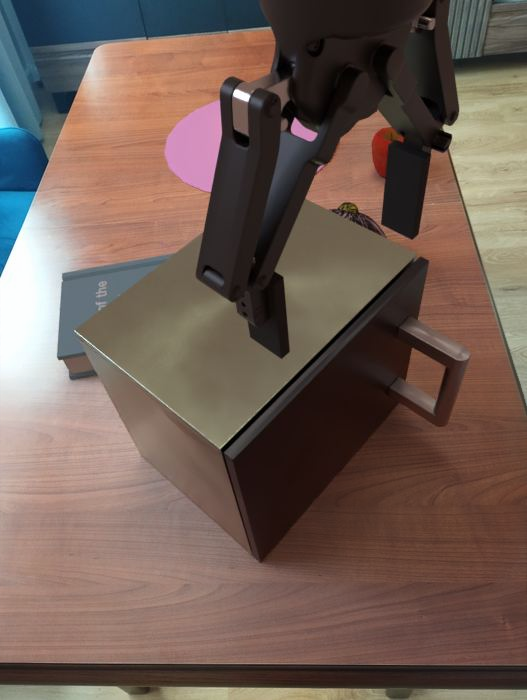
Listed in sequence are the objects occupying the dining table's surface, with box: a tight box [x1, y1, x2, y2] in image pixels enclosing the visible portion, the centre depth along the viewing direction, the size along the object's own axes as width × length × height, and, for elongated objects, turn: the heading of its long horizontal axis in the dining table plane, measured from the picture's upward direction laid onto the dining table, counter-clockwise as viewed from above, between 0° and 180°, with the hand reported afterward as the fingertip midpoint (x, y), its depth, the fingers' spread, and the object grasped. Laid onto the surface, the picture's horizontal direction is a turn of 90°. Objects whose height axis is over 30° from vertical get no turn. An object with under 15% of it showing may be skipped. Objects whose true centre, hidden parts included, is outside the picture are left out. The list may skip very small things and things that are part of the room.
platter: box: [163, 99, 327, 194], centre depth 106 cm, size 32×32×3 cm
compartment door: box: [224, 256, 471, 564], centre depth 55 cm, size 8×26×23 cm, turn 138°
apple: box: [371, 126, 404, 179], centre depth 95 cm, size 6×6×8 cm
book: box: [56, 252, 176, 380], centre depth 80 cm, size 23×16×5 cm
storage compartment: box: [74, 198, 418, 556], centre depth 61 cm, size 18×26×24 cm
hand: (339, 283), depth 39 cm, fingers open, 13 cm apart
